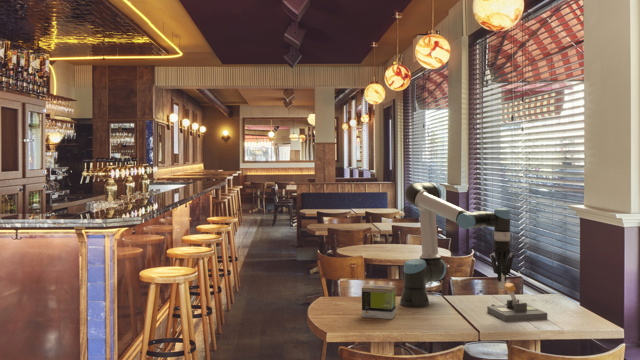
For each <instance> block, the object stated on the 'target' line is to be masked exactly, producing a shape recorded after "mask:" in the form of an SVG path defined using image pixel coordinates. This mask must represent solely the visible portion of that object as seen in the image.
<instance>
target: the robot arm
mask: <svg viewBox="0 0 640 360" xmlns="http://www.w3.org/2000/svg"><path fill="white" fill-rule="evenodd" d="M442 196H443V195H442V190H441V188H440V187H439V185H437V184H436V183H435V182H428V181H426V182H412V183H411V184H409V185H408V186H407V187H406V189H405V191H404V197H405V199H406V201H407V202H408V204H410V205H413V206H415V207H416V209H418V211H419V220H420V221H419V222H420V238H421V255H420V256H419V258H414V259H413V258H412V259H408V260H406V261H404V262H403V263H404V264H403V268H402V269H403V290H402V294H401V296H400V299H399V303H400V305H401V306H404V307H407V308H425V307H429V305H430V301H429V300H430V299H429V297H428V294H427V291H426V290H427V289H426V288H427V287H426V285H427V283H430V282H437V281H440V280H442V279H443V278H444V277H445V275H446V272H447V266H446V262H444V260H442V256H441V255H440V254H439V245H438V244H439V243H438V232H437V231H438V230H437V217H436V216H437V215H438V216H441V217H443V218H445V219H447V220H450V221H452V222H454V223H456V224H457V225H458V226H459V228H461V229H463V230H464V229H465V230H469V229H470V230H471V229H475V228H483V227H484V228H485V227H486V228H487V227H488V228H493V248H494V249H493V253H491V254H490V253H489V254H488V257H489V259H490V262H491V266H492V270H493V274H496V275H497V282H498V288H499V289H503V290H505V284H506V283H505V282H507V276H508V275H509V274H510V273H511V269H512V265H513V262H514V259H515V257H516V255H515V254H514V253H512V252H511V241H510V240H511V211H510V209H509V208H505V207H504V208H501V207H500V208H498V207H496V208H495V209H494V210H493V211H483V210H475V211H473V212H470V211H468V210H466V209H464V208H462V207H460V206H457V205H455V204H452V203H450V202H448V201H446V200H443V199H442ZM436 214H437V215H436Z"/></svg>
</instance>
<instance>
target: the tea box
mask: <svg viewBox="0 0 640 360" xmlns="http://www.w3.org/2000/svg"><path fill="white" fill-rule="evenodd" d="M396 299H397V297H396V285H389V284H388V285H387V284H370V283H368V284H365V285H364V286H362V287H361V317H362V318H371V319H372V318H373V319H386V320H392V319H393V318H394V317H395V316H396V314H397V313H396V307H397V306H396V305H397V303H396V301H397V300H396Z"/></svg>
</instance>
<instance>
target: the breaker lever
mask: <svg viewBox="0 0 640 360" xmlns="http://www.w3.org/2000/svg"><path fill="white" fill-rule="evenodd" d="M504 290H505V291H506V292H508V293H509V296H510V298H511V300H512V301H513V303H512V307H514V303H518V302H517V297H516V294H515V292H516V291H517V290H516V287H515V285H514V284H513V283H511V282H506V283H505V288H504Z"/></svg>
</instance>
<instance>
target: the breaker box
mask: <svg viewBox="0 0 640 360" xmlns="http://www.w3.org/2000/svg"><path fill="white" fill-rule="evenodd" d="M516 299H517V298H516ZM517 302H518V303H514V307H512V303H513V301H512V299H506V303H505V304H504V305H495V304H491V305H488V306H487V310H486V311H487V313H488V314H490V315H491V316H494V317H496V318H497V319H500V320H501V321H503V322H506V323H507V322H508V323H509V322H523V321H539V320H540V321H541V320H548V312H546V311H543V310H541V309H539V308H537V307H534V306H532V305H530V304H528V303H527V302H520V300H519V299H517Z"/></svg>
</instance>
